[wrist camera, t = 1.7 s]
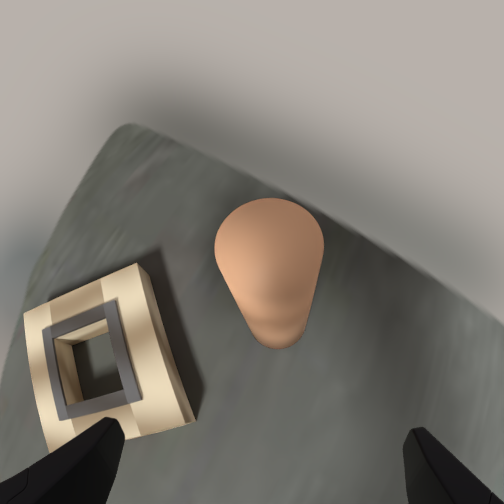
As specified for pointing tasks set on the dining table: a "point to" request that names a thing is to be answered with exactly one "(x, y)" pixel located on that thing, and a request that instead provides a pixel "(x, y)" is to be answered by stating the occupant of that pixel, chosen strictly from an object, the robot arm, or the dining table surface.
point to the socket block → (125, 351)
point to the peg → (271, 267)
